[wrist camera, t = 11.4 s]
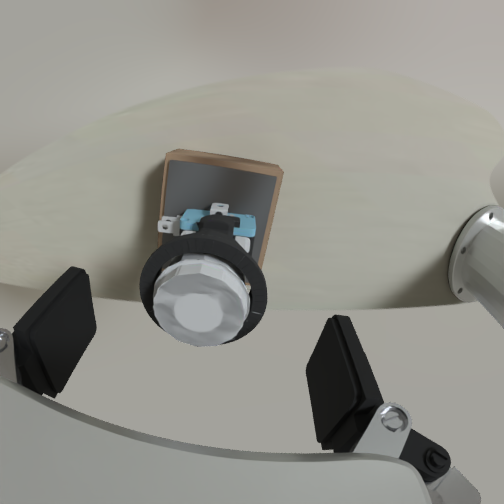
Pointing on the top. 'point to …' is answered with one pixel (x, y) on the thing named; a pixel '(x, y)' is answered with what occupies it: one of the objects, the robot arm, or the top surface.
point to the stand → (220, 191)
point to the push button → (205, 278)
